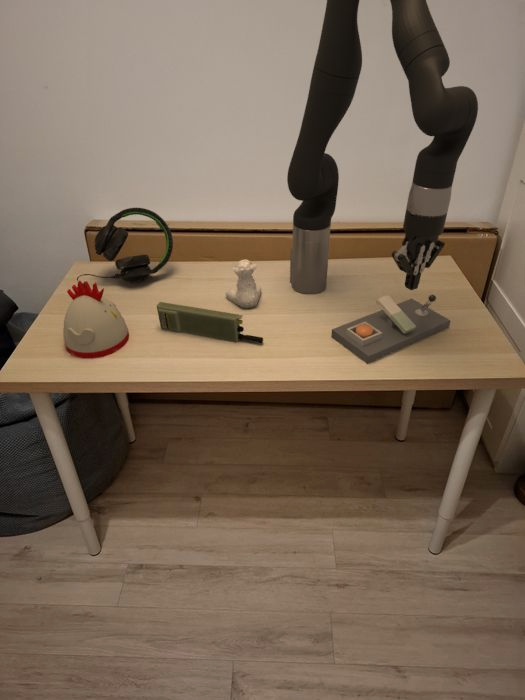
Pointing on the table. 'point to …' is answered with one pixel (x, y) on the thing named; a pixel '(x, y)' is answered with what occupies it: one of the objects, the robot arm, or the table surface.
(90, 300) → the kitchen timer
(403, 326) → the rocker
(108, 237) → the headset
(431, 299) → the lever
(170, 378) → the table surface
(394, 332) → the panel
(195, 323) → the handheld radio
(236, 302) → the sitting furry creature
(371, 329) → the button
